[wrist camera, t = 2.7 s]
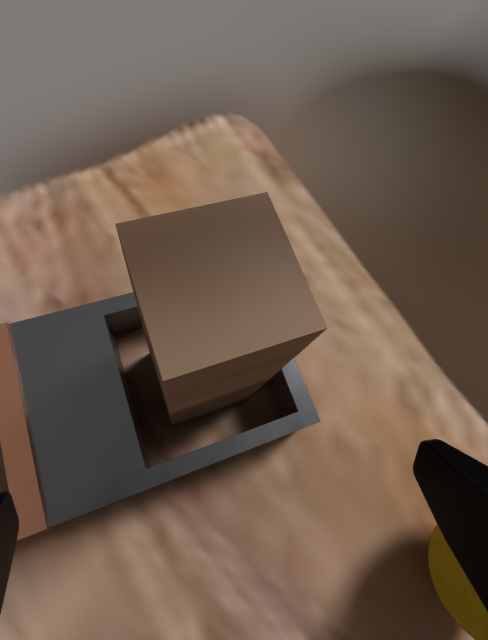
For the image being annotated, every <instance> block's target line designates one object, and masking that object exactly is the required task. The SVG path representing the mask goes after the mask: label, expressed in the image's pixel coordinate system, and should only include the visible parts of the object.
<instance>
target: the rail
mask: <svg viewBox="0 0 488 640" xmlns="http://www.w3.org/2000/svg"><path fill="white" fill-rule="evenodd" d="M141 327H143V325H142V321H141V318H140V314H139V310H138V307H137V303H136V299H135V295H134V292H132V293H128V294H124V295H120V296H117V297H113V298H109V299H105V300H101V301H97V302H93V303H89V304H85V305H82V306H78V307H74V308H70V309H66V310H62V311H58V312H54V313H50V314H47V315H43V316H39V317H35V318H31V319H27V320H23V321H19V322H15V323H12V324H7V323H4V324H0V446H1V452H2V458H3V463H4V469H5V475H6V481H7V486H8V492H9V493H10V494H11V496H12V499H13V502H14V505H15V508H16V511H17V514H18V518H19V532H18V537H17V540H20V539H23V538H26V537H28V536H31V535H33V534H36V533H38V532H41V531H43V530H46V529H48V528H50V527H53V526H56V525H58V524H61V523H63V522H66V521H68V520H71V519H73V518H76V517H78V516H81V515H84V514H86V513H89V512H91V511H94V510H96V509H99V508H101V507H104V506H106V505H109V504H112V503H114V502H117V501H119V500H122V499H124V498H127V497H129V496H132V495H135V494H137V493H140V492H142V491H145V490H147V489H150V488H152V487H155V486H157V485H160V484H163V483H165V482H168V481H170V480H173V479H175V478H178V477H180V476H183V475H185V474H188V473H191V472H193V471H196V470H198V469H201V468H203V467H206V466H208V465H211V464H213V463H216V462H219V461H221V460H224V459H226V458H229V457H231V456H234V455H236V454H239V453H242V452H244V451H247V450H249V449H252V448H254V447H257V446H259V445H262V444H264V443H267V442H270V441H272V440H275V439H277V438H280V437H282V436H285V435H287V434H290V433H292V432H295V431H298V430H300V429H303V428H305V427H308V426H310V425H313V424H315V423H318V422H320V419H319V417H318V414H317V412H316V409H315V407H314V404H313V402H312V399H311V397H310V394H309V392H308V390H307V387H306V385H305V382H304V380H303V377H302V375H301V372H300V370H299V368H298V365H297V363H296V360H295V358H293V359H292V360H291V361H290V362H289V363H287V364H286V365H285V366H284V367H283V368H282V369H281V370H280V371H278V372H277V373H276V374H275V375H274V376H273V377H272V378H271V379H269V380H268V382H269V385H270V388H271V390H272V393H273V396H274V398H275V401H276V403H277V406H278V409H279V411H280V414H281V417H282V418H280V419H277V420H275V421H272V422H270V423H267V424H264V425H262V426H259V427H256V428H254V429H251V430H248V431H246V432H243V433H240V434H238V435H235V436H233V437H230V438H227V439H225V440H222V441H219V442H217V443H214V444H211V445H209V446H206V447H203V448H201V449H198V450H196V451H193V452H190V453H188V454H185V455H182V456H180V457H177V458H174V459H172V460H169V461H167V462H164V463H161V464H159V465H156V466H153V467H150V463H149V460H148V456H147V453H146V449H145V445H144V442H143V438H142V434H141V431H140V427H139V424H138V420H137V416H136V413H135V409H134V406H133V402H132V398H131V395H130V391H129V387H128V384H127V380H126V377H125V373H124V369H123V366H122V362H121V359H120V355H119V351H118V348H117V344H116V340H115V337H114V335H116V334H120V333H123V332H127V331H131V330H134V329H138V328H141Z"/></svg>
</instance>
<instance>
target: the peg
mask: <svg viewBox="0 0 488 640" xmlns="http://www.w3.org/2000/svg"><path fill="white" fill-rule="evenodd" d="M115 225H116V228H117V232H118V236H119V240H120V243H121V247H122V251H123V254H124V258H125V262H126V266H127V269H128V273H129V277H130V281H131V284H132V288H133V292H134V295H135V299H136V303H137V307H138V310H139V314H140V318H141V321H142V325H143V329H144V333H145V336H146V340H147V344H148V348H149V351H150V355H151V358H152V361H153V365H154V368H155V371H156V375H157V378H158V381H159V385H160V388H161V391H162V395H163V398H164V401H165V405H166V408H167V411H168V415H169V418H170V421H171V425H172V427H173V426H175V425H178V424H181V423H184V422H187V421H189V420H192V419H195V418H198V417H201V416H204V415H206V414H209V413H212V412H215V411H218V410H220V409H223V408H226V407H229V406H232V405H234V404H237V403H240V402H243V401H246V400H247V399H248V398H249V397H250V396H251V395H253V394H254V393H255V392H256V391H257V390H258V389H259V388H260V387H262V386H263V385H264V384H265V383H266V382H267V381H268V380H269V379H271V378H272V377H273V376H274V375H275V374H276V373H277V372H278V371H280V370H281V369H282V368H283V367H284V366H285V365H286V364H287V363H289V362H290V361H291V360H292V359H293V358H294V357H295V356H297V355H298V354H299V353H300V352H301V351H302V350H303V349H304V348H306V347H307V346H308V345H309V344H310V343H311V342H312V341H313V340H315V339H316V338H317V337H318V336H319V335H320V334H321V333H322V332H324V331H325V330H326V329H327V326H326V324H325V322H324V319H323V317H322V315H321V313H320V310H319V308H318V306H317V304H316V301H315V299H314V297H313V295H312V292H311V290H310V288H309V286H308V283H307V281H306V279H305V277H304V274H303V272H302V270H301V268H300V265H299V263H298V261H297V258H296V256H295V254H294V252H293V249H292V247H291V245H290V243H289V240H288V238H287V236H286V234H285V231H284V229H283V227H282V225H281V222H280V220H279V218H278V216H277V213H276V211H275V209H274V207H273V204H272V202H271V200H270V197H269V195H268V193H267V192H266V193H261V194H256V195H252V196H247V197H242V198H237V199H232V200H228V201H223V202H218V203H213V204H209V205H204V206H199V207H194V208H189V209H185V210H180V211H175V212H170V213H165V214H161V215H156V216H151V217H146V218H142V219H137V220H132V221H127V222H122V223H118V224H115Z"/></svg>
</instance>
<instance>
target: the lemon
mask: <svg viewBox="0 0 488 640" xmlns="http://www.w3.org/2000/svg"><path fill="white" fill-rule="evenodd" d="M428 564H429V570H430V574H431V578H432V582H433V585H434V587H435V589H436V591H437V593H438V596H439V598H440V600H441V601H442V603H443V605H444V606H445V607H446V609H447V610H448V612H449V613H450V614H451V616H452V617H453V619H454V620H455V621H456V622H457V623H458V624H459V625H460V626H461V627H462V628H463V629H464V630H465V631H466V632H467V633H468V634H469V635H471V636H472V637H473V638H474V639H475V640H488V612H487V610H486V609H485V607H484V605H483V604H482V602H481V600H480V598H479V597H478V595H477V593H476V592H475V590H474V588H473V587H472V585H471V583H470V581H469V580H468V578H467V576H466V575H465V573H464V571H463V570H462V568H461V566H460V564H459V563H458V561H457V559H456V558H455V556H454V554H453V553H452V551H451V549H450V547H449V546H448V544H447V542H446V540H445V538H444V536H443V534H442V532H441V531H440V529H439V526H438V524H437V526H436V527H435V529H434V531H433V534H432V536H431V538H430V544H429V549H428Z"/></svg>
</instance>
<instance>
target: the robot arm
mask: <svg viewBox="0 0 488 640" xmlns="http://www.w3.org/2000/svg"><path fill="white" fill-rule="evenodd" d="M413 472H414V476H415V478H416V480H417V482H418V484H419V486H420V489H421V491H422V493H423V495H424V497H425V499H426V501H427V503H428V505H429V507H430V510H431V512H432V514H433V516H434V518H435V520H436V522H437V524H438V526H439V529H440V531H441V532H442V534H443V536H444V538H445V540H446V542H447V544H448V546H449V547H450V549H451V551H452V553H453V554H454V556H455V558H456V559H457V561H458V563H459V564H460V566H461V568H462V570H463V571H464V573H465V575H466V576H467V578H468V580H469V581H470V583H471V585H472V587H473V588H474V590H475V592H476V593H477V595H478V597H479V598H480V600H481V602H482V604H483V605H484V607H485V609H486V610H487V612H488V466H486V465H485V464H483V463H481V462H479V461H477V460H476V459H474V458H472V457H470V456H468V455H467V454H465V453H463V452H461V451H459V450H458V449H456V448H454V447H452V446H450V445H449V444H447V443H445V442H443V441H441V440H439V439H432V440H424V441H422V442H421V443H420V445H419V447H418V451H417V454H416V457H415V461H414V464H413ZM18 532H19V518H18V514H17V511H16V508H15V505H14V502H13V499H12V496H11V494H10V493H9V492H8V491H2V492H0V613H1V609H2V605H3V601H4V596H5V592H6V587H7V582H8V578H9V573H10V569H11V564H12V560H13V555H14V550H15V546H16V541H17V537H18Z"/></svg>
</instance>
